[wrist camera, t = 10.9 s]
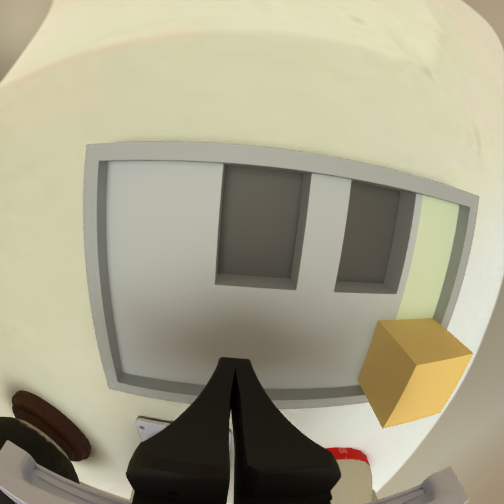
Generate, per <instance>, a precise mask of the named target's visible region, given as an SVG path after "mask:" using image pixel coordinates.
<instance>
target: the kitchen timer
mask: <svg viewBox="0 0 504 504" xmlns="http://www.w3.org/2000/svg"><path fill="white" fill-rule="evenodd" d="M327 450H328V451H330V452H332V453H333V455H334V457H335V459H336V461H337V463H338V465H339V468H340V471H341V478H340V480H339V481H338V483H337V484H336V485H335V486H334V487H333V489H332V490H331V494H332V500H331V501H330V502H331V504H365V503H368V502H372V501H375V500H377V497H376V493H375V491H374V490H373V489H372V473H371V468H370V465H369V462H368V460H367V458H366V455H364V454H363V453H362V452H361V451H359V450H356V449H352V448H327Z"/></svg>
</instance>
